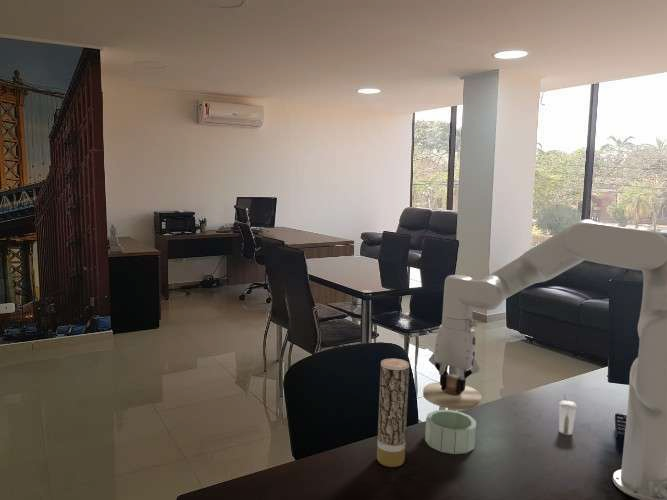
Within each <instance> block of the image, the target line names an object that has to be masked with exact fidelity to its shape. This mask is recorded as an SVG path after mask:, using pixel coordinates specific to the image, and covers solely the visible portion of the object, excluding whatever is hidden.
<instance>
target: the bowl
mask: <svg viewBox="0 0 667 500" xmlns="http://www.w3.org/2000/svg"><path fill="white" fill-rule="evenodd" d="M476 429H477V421H476V420H475V418H473V417H472V416H471V415H469V414H466V413H464V412H461V411H459V410H454V409H453V410H452V409H451V410H450V409H439V410H438V409H437V410H433V411H430V412H429V413H427V415H426V418H425V430H424V441H425V443H426V444H427V445H428V446H429V447H430V448H432V449H434V450H435V451H438V452H441V453H446V454H452V455H459V454H468V453H469V452H471V451H473V450H474V449H475V447H476V446H475V445H476V443H475V442H476Z"/></svg>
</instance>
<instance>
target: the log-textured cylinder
mask: <svg viewBox="0 0 667 500" xmlns="http://www.w3.org/2000/svg"><path fill="white" fill-rule="evenodd" d="M409 375H410V363H409V362H408V361H406V360H404V359H399V358H385V359H382V360H381V361H380V374H379V376H380V377H379V394H378V395H379V397H378V398H379V399H378V419H377V420H378V421H377V425H378V426H377V442H376V444H377V445H376V446H377V447H376V449H377V450H376V459H377V462H378V463H379V464H380V465H382V466H384V467H386V468H387V467H388V468H396V467H397V468H398V467H400V466H402V465H403V464H404V462H405V460H406V458H405V457H406V438H407V422H408V421H407V418H408V417H407V416H408V400H409V399H408V398H409V396H408V395H409V377H410V376H409Z"/></svg>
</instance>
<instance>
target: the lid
mask: <svg viewBox="0 0 667 500" xmlns="http://www.w3.org/2000/svg"><path fill="white" fill-rule="evenodd" d="M459 377H460V375H457V374H453V373H448V375H447V376H446V386H445V390H441V385H440V381H439V382H437V381H436V382H433V383H428V384H426V385H425V386H424V387H423V389H422V390H423V391H422V396H423V398H424V399H425V400H426V401H427V402H429V403H431V404H433V405H435V406H439V407H442V408H446V409H451V410H452V409H453V410H469V409H470V410H471V409H473V408H476V407H478V406H479V405H481V403H482V393H480V392H479V391H478V390H477V389H475V388H473V387H471V386H469V385H466V384H465V390H464V391H463V392H462V393H461V394H457V382H458V379H459Z"/></svg>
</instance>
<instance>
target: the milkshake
mask: <svg viewBox="0 0 667 500" xmlns="http://www.w3.org/2000/svg"><path fill="white" fill-rule="evenodd" d="M566 397H567V396H566V394H565V393H564V394H563V400H561V401H560V402H559V403H558V422H559V423H558V431H559V433H560V434H562V435H565V436H571V435H572V434H573V431H574V430H573V429H574V423H575V418H576V413H577V408H578V406H577V404H576V403H575V402H574V401H571V400H567V398H566Z"/></svg>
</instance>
